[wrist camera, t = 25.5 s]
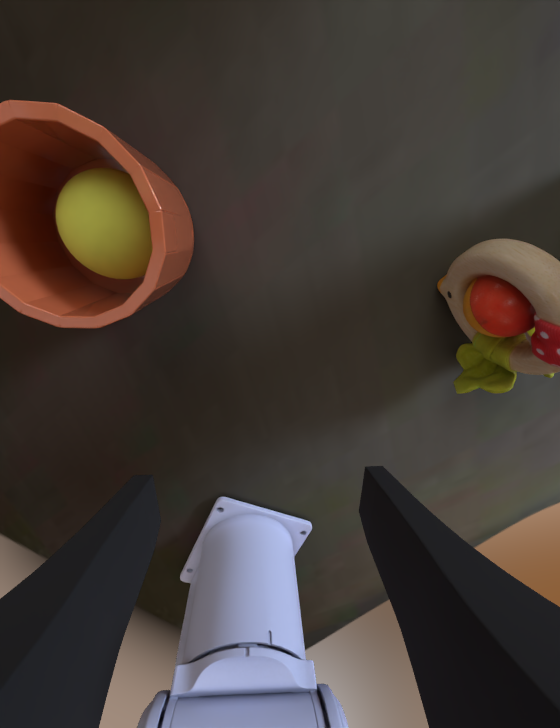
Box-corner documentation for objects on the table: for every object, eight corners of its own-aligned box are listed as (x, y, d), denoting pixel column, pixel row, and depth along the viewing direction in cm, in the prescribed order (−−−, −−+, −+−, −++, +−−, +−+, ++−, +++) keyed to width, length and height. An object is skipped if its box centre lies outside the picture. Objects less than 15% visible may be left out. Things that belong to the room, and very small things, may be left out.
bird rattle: (388, 308, 22) (470, 417, 21) (442, 264, 11) (616, 490, 10) (470, 249, 21) (559, 362, 20) (623, 134, 10) (830, 378, 9)
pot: (170, 320, 19) (134, 355, 13) (37, 267, 17) (-68, 282, 12) (213, 193, 16) (191, 171, 11) (64, 118, 15) (-50, 48, 9)
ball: (149, 288, 18) (159, 299, 14) (51, 254, 15) (31, 255, 12) (175, 208, 17) (193, 196, 13) (78, 158, 15) (65, 126, 11)
